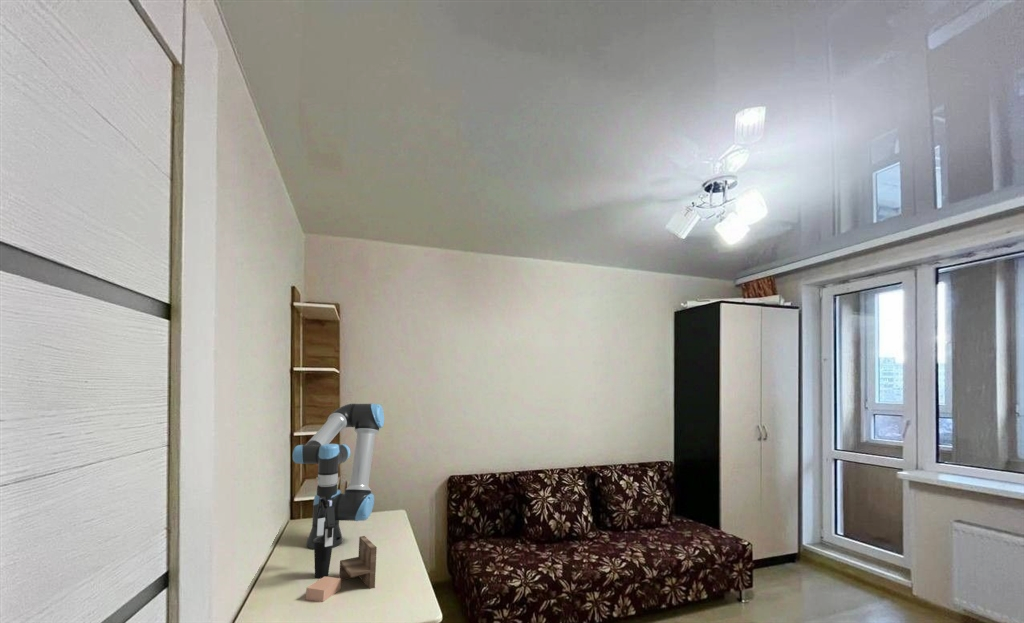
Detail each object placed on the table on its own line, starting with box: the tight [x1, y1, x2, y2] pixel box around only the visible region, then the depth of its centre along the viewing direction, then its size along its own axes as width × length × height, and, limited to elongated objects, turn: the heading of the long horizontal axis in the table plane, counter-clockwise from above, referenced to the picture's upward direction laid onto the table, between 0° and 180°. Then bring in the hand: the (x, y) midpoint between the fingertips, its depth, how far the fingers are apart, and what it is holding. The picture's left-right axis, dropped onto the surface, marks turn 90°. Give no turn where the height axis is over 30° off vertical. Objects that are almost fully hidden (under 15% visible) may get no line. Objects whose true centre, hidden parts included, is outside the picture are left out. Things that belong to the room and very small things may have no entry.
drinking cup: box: [313, 521, 334, 579], centre depth 186 cm, size 8×8×20 cm
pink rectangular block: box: [305, 576, 342, 603], centre depth 170 cm, size 7×10×4 cm
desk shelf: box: [338, 535, 378, 589], centre depth 180 cm, size 15×9×14 cm, turn 34°
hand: (324, 540), depth 187 cm, fingers open, 13 cm apart
